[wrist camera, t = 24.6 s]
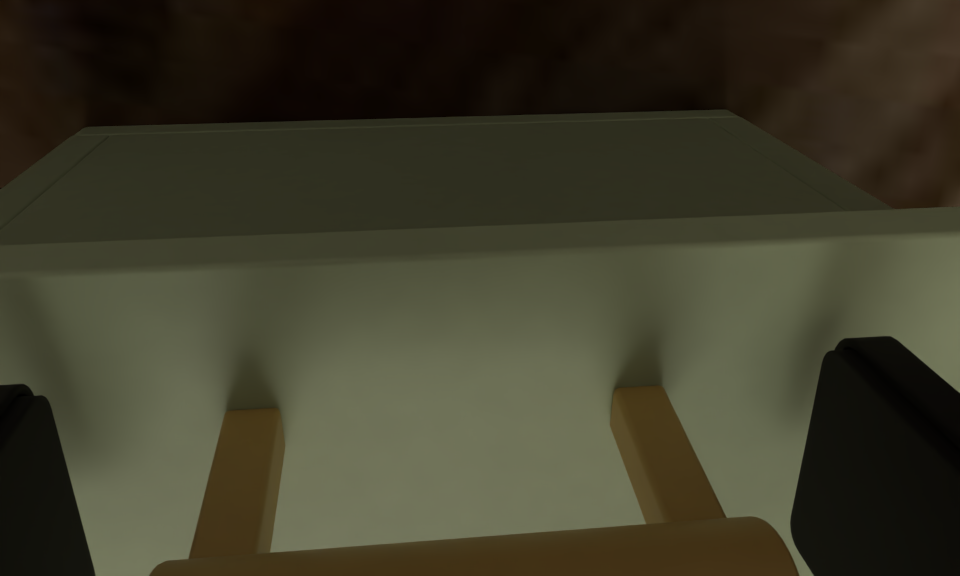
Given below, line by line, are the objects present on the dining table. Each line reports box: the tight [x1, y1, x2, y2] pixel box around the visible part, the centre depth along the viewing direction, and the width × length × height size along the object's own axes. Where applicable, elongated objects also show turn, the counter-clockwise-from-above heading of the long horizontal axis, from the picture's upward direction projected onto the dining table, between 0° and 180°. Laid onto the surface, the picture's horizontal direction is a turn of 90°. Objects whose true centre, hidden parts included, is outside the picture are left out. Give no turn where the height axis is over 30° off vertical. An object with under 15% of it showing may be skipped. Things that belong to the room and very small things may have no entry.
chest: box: [0, 110, 893, 245], centre depth 19 cm, size 16×15×7 cm
